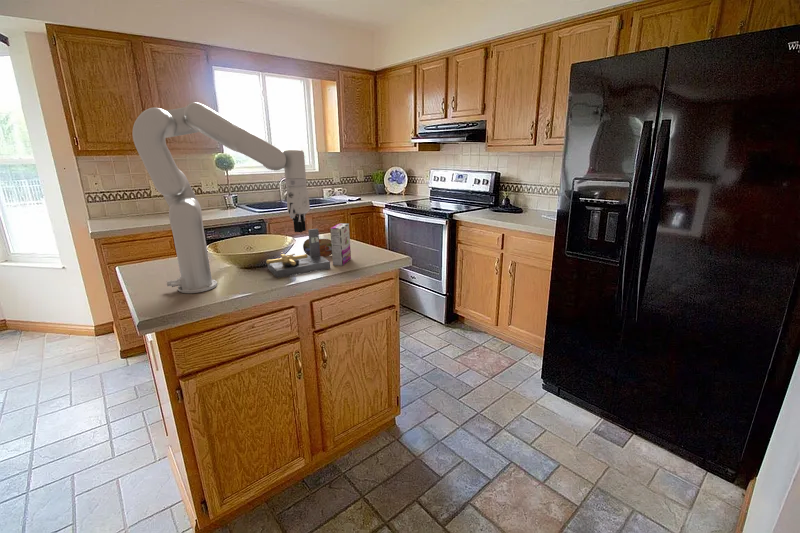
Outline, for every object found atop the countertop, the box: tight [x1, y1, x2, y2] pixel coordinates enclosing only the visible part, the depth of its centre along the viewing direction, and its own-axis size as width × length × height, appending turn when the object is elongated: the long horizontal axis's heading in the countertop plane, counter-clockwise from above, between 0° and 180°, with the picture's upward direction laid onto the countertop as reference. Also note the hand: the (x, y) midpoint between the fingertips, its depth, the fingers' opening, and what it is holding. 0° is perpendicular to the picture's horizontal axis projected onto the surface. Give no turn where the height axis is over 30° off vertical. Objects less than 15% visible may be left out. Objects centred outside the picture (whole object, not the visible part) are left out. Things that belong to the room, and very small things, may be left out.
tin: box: [302, 238, 332, 258], centre depth 176 cm, size 15×3×8 cm, turn 77°
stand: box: [266, 228, 331, 279], centre depth 155 cm, size 22×14×15 cm, turn 123°
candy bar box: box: [329, 223, 352, 267], centre depth 164 cm, size 11×5×16 cm, turn 168°
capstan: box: [266, 253, 309, 266], centre depth 151 cm, size 17×17×4 cm
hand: (300, 231), depth 147 cm, fingers closed
